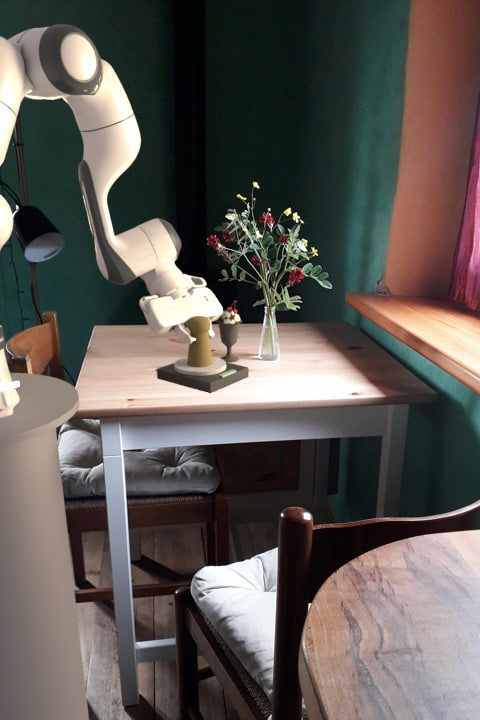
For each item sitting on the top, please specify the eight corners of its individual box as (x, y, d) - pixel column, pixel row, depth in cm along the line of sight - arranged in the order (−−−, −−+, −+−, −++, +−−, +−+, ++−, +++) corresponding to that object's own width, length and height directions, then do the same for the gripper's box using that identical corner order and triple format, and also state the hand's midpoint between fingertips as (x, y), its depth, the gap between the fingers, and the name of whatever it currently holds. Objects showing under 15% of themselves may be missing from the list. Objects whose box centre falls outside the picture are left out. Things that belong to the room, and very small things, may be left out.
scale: (210, 393, 134) (210, 378, 133) (157, 378, 143) (156, 364, 141) (248, 377, 145) (248, 363, 144) (196, 364, 153) (196, 350, 152)
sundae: (246, 357, 159) (246, 299, 154) (236, 364, 153) (236, 305, 148) (222, 354, 161) (222, 297, 156) (212, 361, 155) (211, 302, 150)
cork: (211, 367, 140) (211, 320, 136) (185, 367, 140) (183, 319, 136) (214, 359, 146) (213, 314, 142) (188, 359, 146) (187, 313, 142)
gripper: (141, 289, 133) (174, 341, 131) (208, 277, 148) (238, 324, 146) (129, 306, 137) (161, 357, 135) (196, 293, 152) (225, 339, 150)
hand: (201, 340), depth 141 cm, fingers open, 5 cm apart
